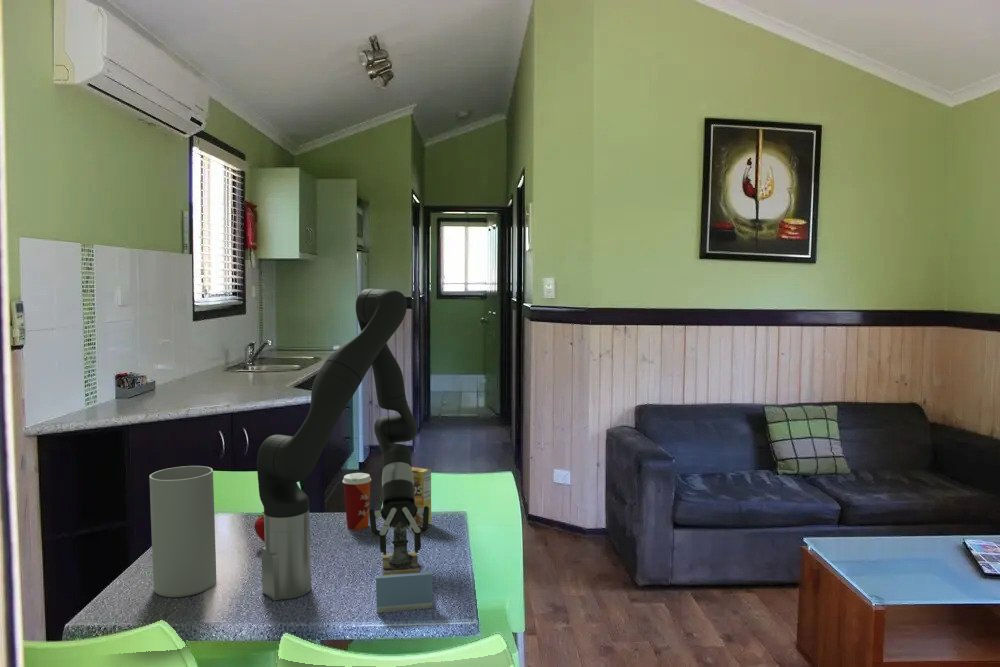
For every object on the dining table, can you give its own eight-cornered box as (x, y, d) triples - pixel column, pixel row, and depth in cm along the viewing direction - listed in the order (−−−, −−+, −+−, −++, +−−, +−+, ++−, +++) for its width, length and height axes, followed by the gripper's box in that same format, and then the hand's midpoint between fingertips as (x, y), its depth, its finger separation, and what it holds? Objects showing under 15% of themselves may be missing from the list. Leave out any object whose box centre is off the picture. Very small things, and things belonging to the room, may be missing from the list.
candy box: (396, 523, 199) (395, 468, 198) (405, 519, 203) (404, 465, 202) (423, 528, 195) (422, 471, 194) (432, 523, 199) (431, 468, 198)
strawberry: (249, 548, 181) (247, 508, 180) (270, 539, 187) (269, 500, 187) (267, 551, 178) (266, 511, 177) (288, 542, 185) (287, 503, 184)
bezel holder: (376, 592, 153) (375, 560, 153) (428, 588, 155) (428, 556, 155) (376, 613, 144) (376, 578, 143) (432, 608, 145) (431, 574, 145)
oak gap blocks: (382, 564, 169) (382, 554, 169) (417, 562, 170) (416, 551, 170) (383, 586, 156) (383, 575, 156) (420, 583, 158) (420, 572, 157)
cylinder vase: (141, 597, 152) (136, 479, 151) (175, 574, 164) (171, 465, 163) (196, 600, 150) (192, 481, 149) (227, 576, 163) (223, 466, 161)
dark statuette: (382, 576, 162) (381, 523, 161) (398, 567, 167) (396, 516, 167) (404, 581, 159) (403, 527, 159) (419, 571, 165) (418, 519, 164)
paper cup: (369, 531, 193) (368, 479, 192) (340, 531, 193) (339, 479, 192) (374, 521, 200) (373, 471, 200) (346, 522, 200) (345, 472, 200)
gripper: (366, 479, 168) (367, 547, 157) (429, 476, 171) (434, 542, 160) (367, 495, 174) (368, 562, 163) (427, 492, 176) (432, 557, 165)
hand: (400, 552), depth 161 cm, fingers open, 6 cm apart
